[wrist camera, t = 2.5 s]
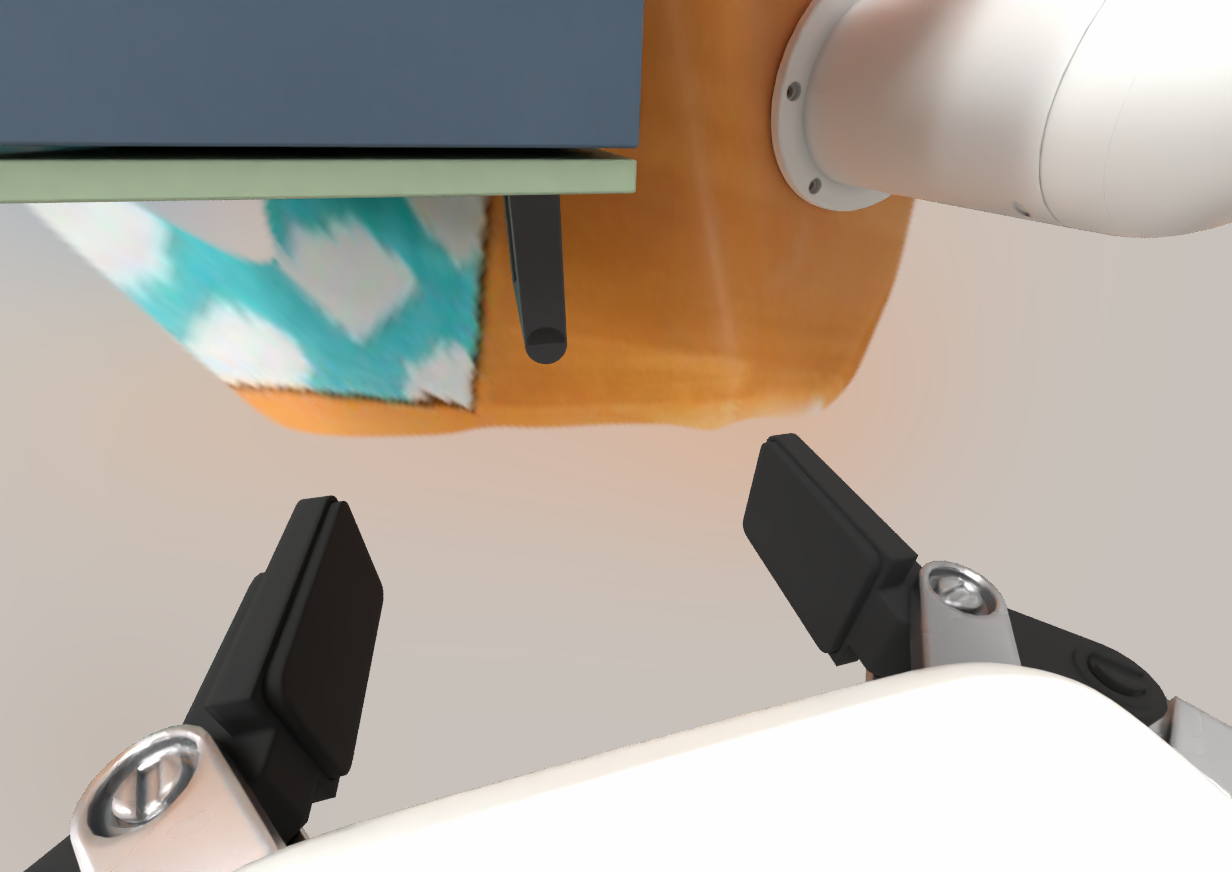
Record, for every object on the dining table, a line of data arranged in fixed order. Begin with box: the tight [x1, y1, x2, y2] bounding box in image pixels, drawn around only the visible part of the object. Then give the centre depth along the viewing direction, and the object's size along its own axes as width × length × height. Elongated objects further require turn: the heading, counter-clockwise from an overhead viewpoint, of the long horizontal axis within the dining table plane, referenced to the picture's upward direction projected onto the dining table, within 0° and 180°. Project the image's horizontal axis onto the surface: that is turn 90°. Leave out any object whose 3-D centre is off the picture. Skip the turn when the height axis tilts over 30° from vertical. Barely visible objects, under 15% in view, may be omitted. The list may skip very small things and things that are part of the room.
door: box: [0, 146, 637, 364], centre depth 19 cm, size 7×18×17 cm, turn 89°
